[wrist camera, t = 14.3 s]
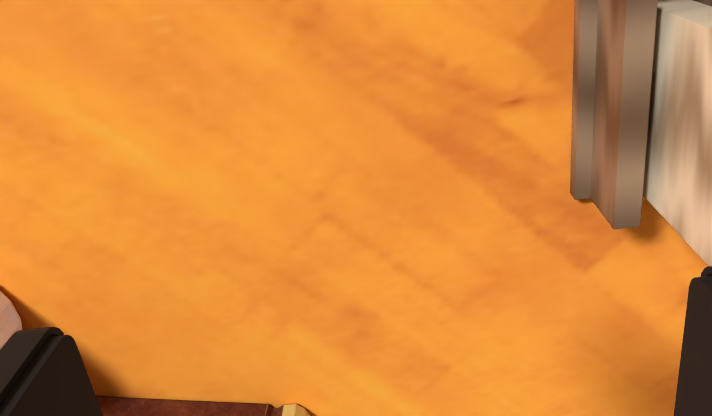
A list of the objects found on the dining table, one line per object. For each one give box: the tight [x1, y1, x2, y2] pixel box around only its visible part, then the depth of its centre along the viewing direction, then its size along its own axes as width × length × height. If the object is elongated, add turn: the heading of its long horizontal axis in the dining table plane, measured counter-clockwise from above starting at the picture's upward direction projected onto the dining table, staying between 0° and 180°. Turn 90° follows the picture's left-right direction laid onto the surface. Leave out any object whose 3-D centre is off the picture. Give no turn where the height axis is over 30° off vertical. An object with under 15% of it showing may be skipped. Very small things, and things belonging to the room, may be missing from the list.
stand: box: [570, 0, 712, 229], centre depth 34 cm, size 12×8×5 cm, turn 7°
